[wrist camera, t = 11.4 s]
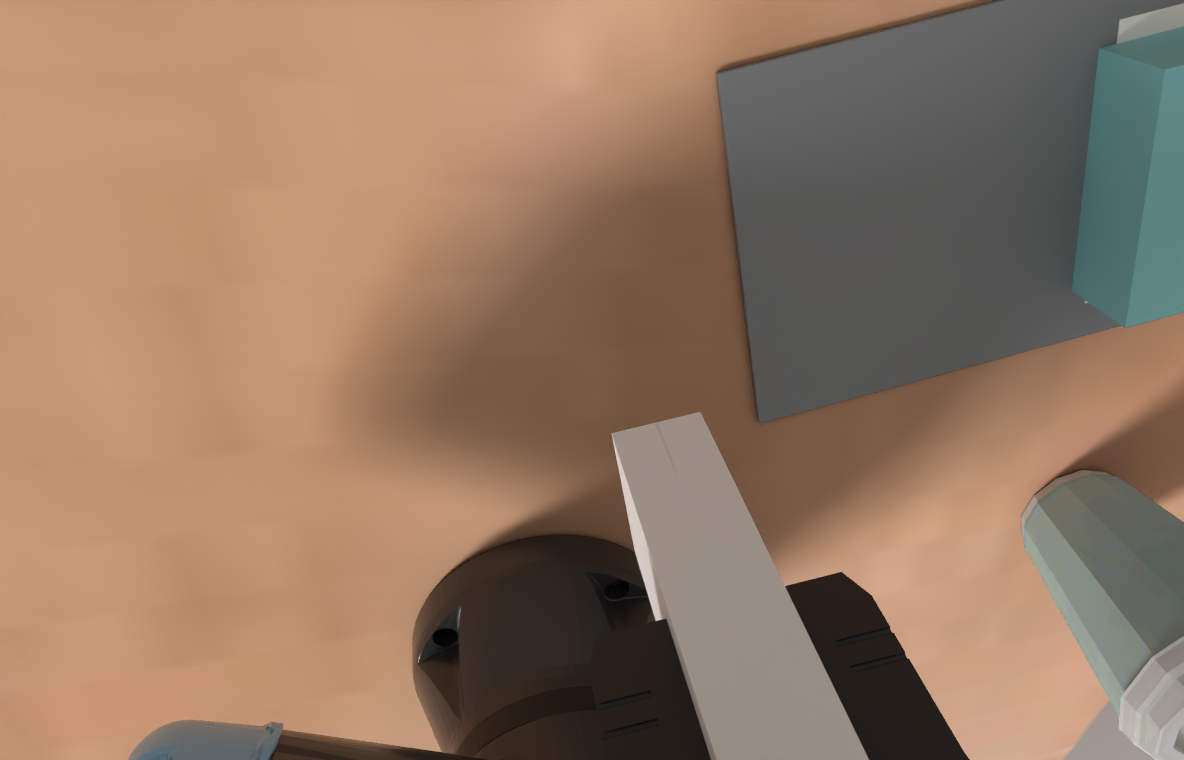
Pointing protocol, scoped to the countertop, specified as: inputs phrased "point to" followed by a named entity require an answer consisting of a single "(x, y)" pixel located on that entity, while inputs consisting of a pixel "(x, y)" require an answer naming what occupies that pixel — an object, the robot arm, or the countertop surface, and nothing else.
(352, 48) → the countertop surface
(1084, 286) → the t block
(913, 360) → the board
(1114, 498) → the disposable coffee cup
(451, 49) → the countertop surface
